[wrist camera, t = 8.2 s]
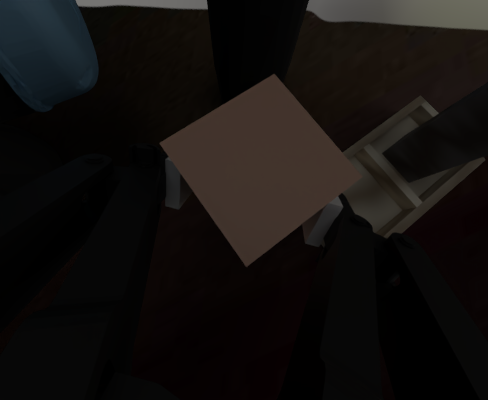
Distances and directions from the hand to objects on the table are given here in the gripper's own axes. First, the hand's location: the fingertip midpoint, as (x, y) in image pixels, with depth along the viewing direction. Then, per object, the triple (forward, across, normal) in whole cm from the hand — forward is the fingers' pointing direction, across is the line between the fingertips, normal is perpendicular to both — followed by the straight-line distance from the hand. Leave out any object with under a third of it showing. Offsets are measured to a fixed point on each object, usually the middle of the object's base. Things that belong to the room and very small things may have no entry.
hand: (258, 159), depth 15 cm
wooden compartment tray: (+12, +16, -4) cm, 20 cm away
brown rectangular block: (+1, 0, -6) cm, 6 cm away
